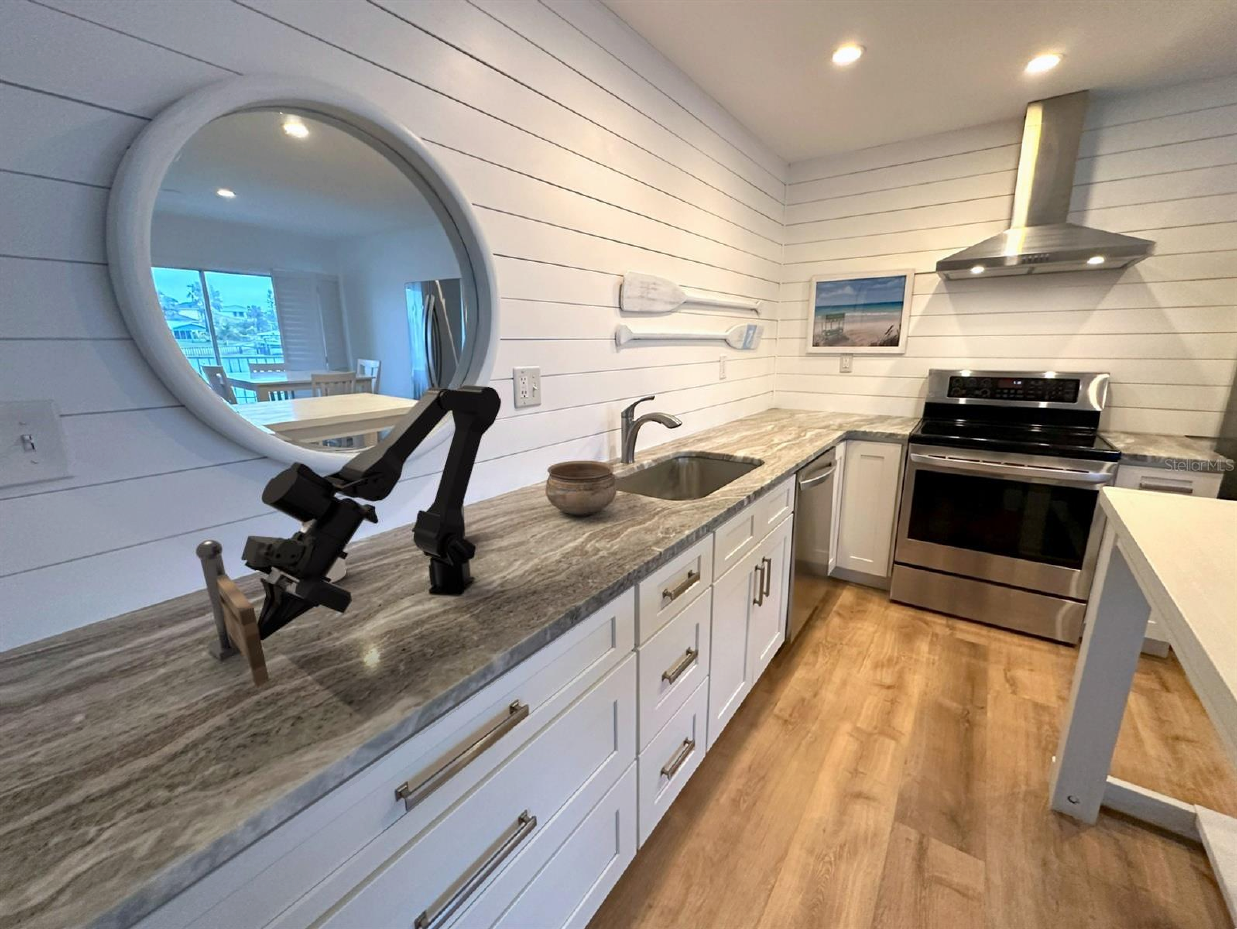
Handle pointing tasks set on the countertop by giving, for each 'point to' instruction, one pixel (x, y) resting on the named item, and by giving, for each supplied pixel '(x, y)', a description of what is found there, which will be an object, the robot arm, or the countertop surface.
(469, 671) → the countertop surface
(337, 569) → the can
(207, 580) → the gate post
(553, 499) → the cooking pot
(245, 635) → the gate
